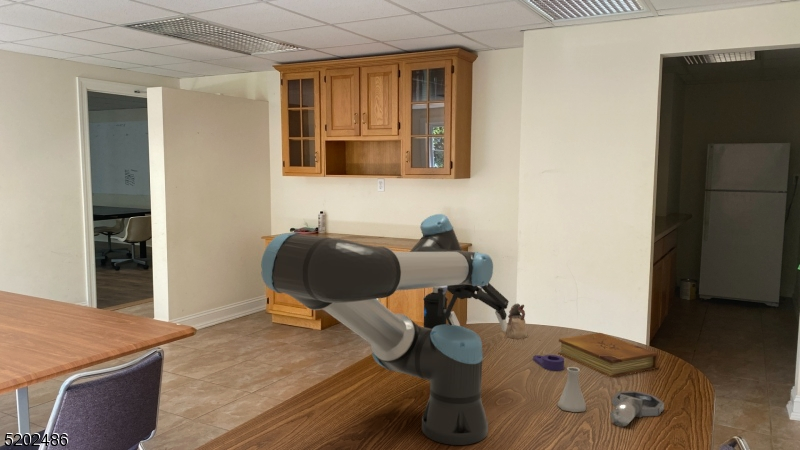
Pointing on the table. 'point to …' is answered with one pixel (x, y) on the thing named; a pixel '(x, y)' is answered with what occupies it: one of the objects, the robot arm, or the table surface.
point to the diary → (608, 354)
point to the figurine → (516, 323)
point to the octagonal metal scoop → (634, 406)
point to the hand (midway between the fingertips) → (482, 330)
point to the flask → (572, 393)
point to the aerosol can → (433, 310)
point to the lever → (550, 362)
